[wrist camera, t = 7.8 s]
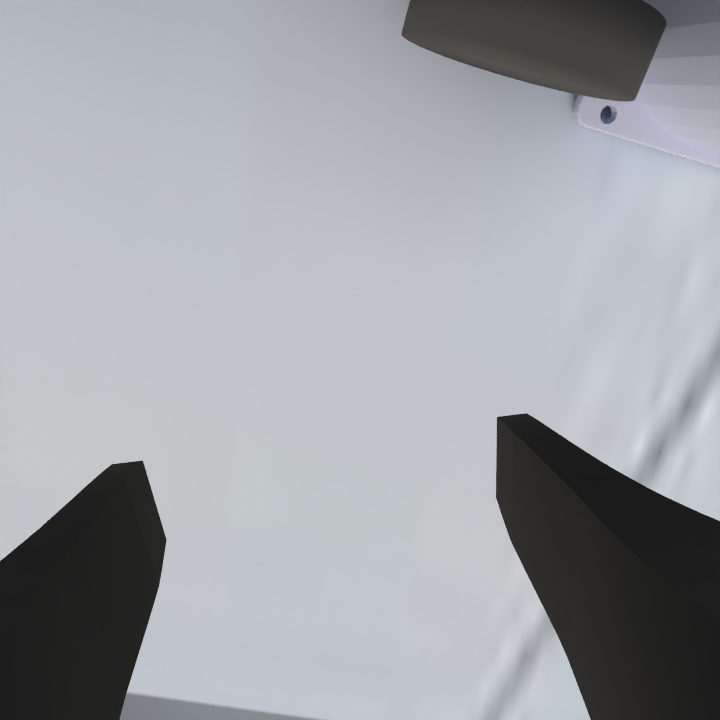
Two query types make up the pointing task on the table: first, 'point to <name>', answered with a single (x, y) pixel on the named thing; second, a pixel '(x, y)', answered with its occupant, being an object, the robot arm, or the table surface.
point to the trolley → (545, 40)
